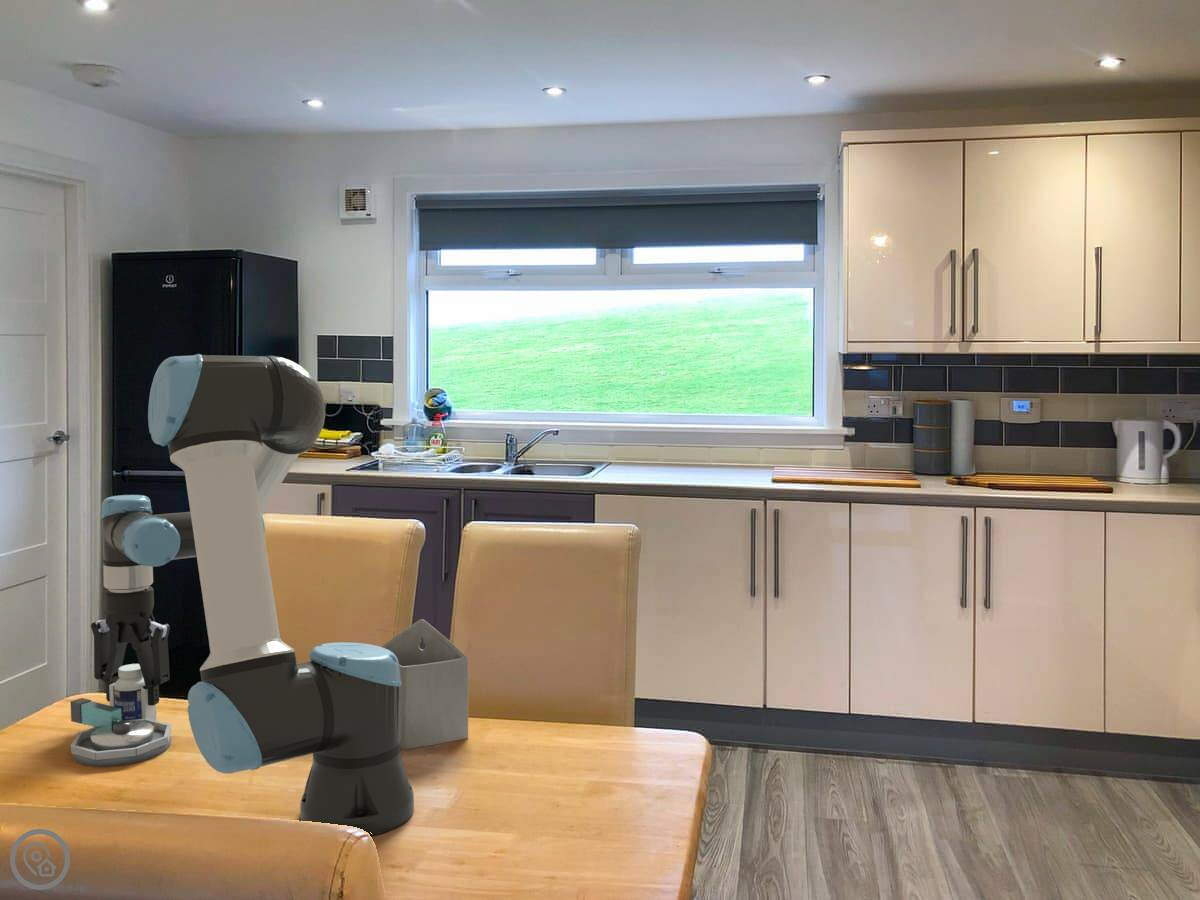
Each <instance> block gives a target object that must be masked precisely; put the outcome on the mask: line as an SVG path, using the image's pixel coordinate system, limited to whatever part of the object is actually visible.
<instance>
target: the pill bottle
mask: <svg viewBox="0 0 1200 900" xmlns="http://www.w3.org/2000/svg"><path fill="white" fill-rule="evenodd" d="M118 676H119V678H120V679H118V680H117V681H116V682H115V685H114V692H115V707H117V708H121V718H122V721H123V720H135V719H142V705H141V688H142V687H143V686H145V682H144V679H143V675H142V672H141V668H140V665H139V663H131V664H130V663H129V664H125V665H122V666H121V667H119V669H118Z"/></svg>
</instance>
